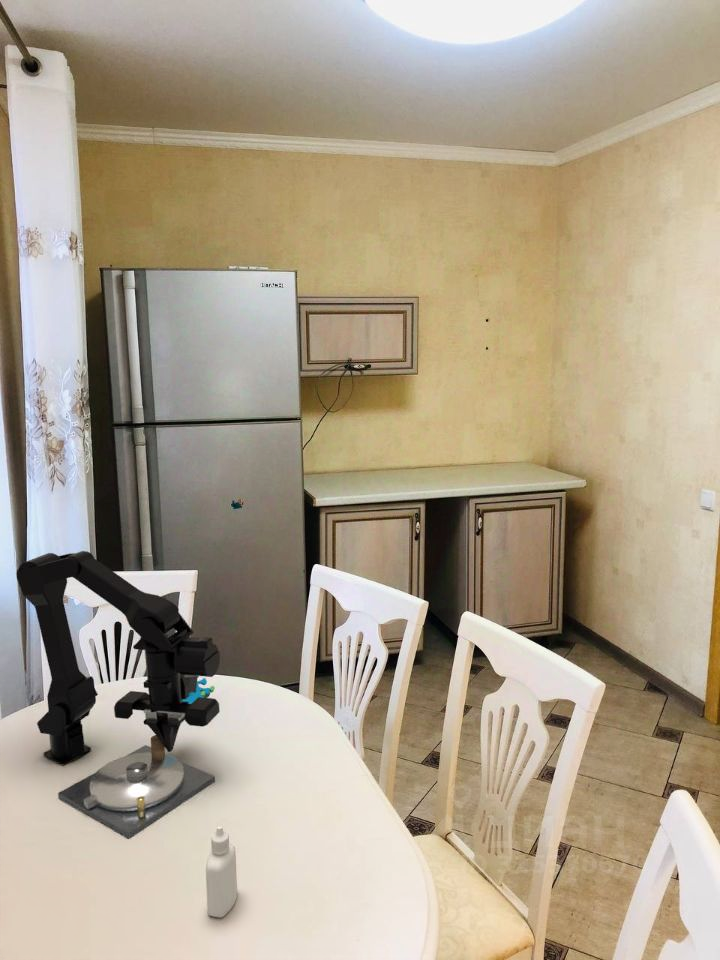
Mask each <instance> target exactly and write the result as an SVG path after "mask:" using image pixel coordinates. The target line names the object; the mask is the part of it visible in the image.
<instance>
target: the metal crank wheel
mask: <svg viewBox="0 0 720 960" xmlns="http://www.w3.org/2000/svg"><path fill="white" fill-rule="evenodd" d="M150 747H151V752H147V753H137V754H132V755H128V754H127V755H128V756H127V755H125V756H124V755H123V756H122V757H119V758H116V759H114V760H112V761H110V762H108V763H106V764H105V765H103V766H102V767H100V768H99V769H98V770H97V771H95V772H94V773H95V774H94V773H93V774H94V776H93V777H92V779H91V781H90V797H87V798H85V799H84V806H85V807H86V808H87V809H90V808H92V807H94V806H96V805H98V806H100V807H102V808H105V809H109V810H114V811H133V810H137V798H138V797H141V796H142V797H144V800H145V808H147V807H151V806H154V805H156V804H158V803H161V802H163V801H164V800H166V799H168V798H169V797H171V796H172V795H173V794H175V793H176V792H177V791H178V790H179V788H180V787H181V785H182V783H183V780H184V769H183V766H182V764H181V763H180V761H181V760H180V759H178V758H176V757H174V756H172V755H170V754H167V753H166V748H165V747H164V745H163V744H162V742H161V741H160V740H159V738H158V737H157V736H156V734H154V735H152V736H151V737H150ZM177 759H178V760H177ZM179 760H180V761H179Z"/></svg>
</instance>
